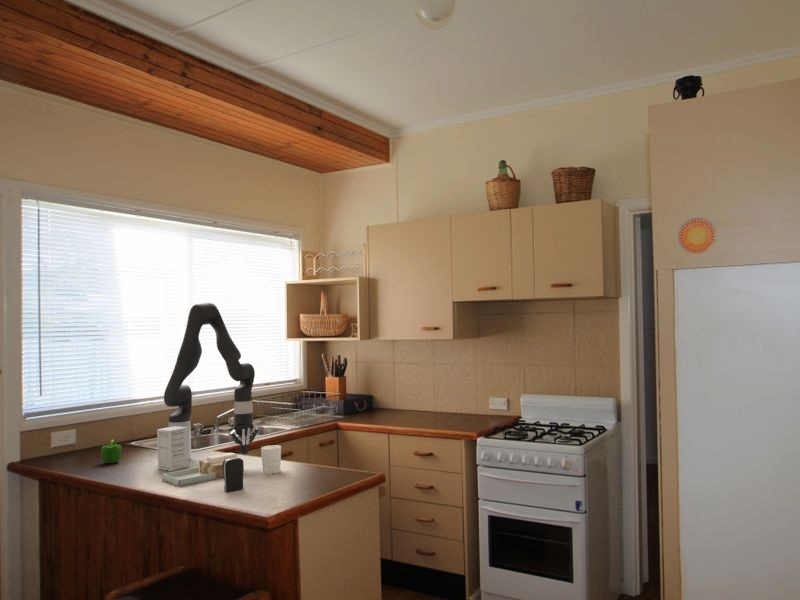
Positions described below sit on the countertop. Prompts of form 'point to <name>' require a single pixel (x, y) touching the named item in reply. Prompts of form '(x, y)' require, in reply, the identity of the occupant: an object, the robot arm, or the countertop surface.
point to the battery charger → (233, 474)
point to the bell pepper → (111, 452)
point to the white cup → (271, 458)
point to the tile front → (215, 459)
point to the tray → (187, 477)
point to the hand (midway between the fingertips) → (244, 453)
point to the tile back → (229, 455)
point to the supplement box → (173, 448)
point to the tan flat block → (212, 468)
